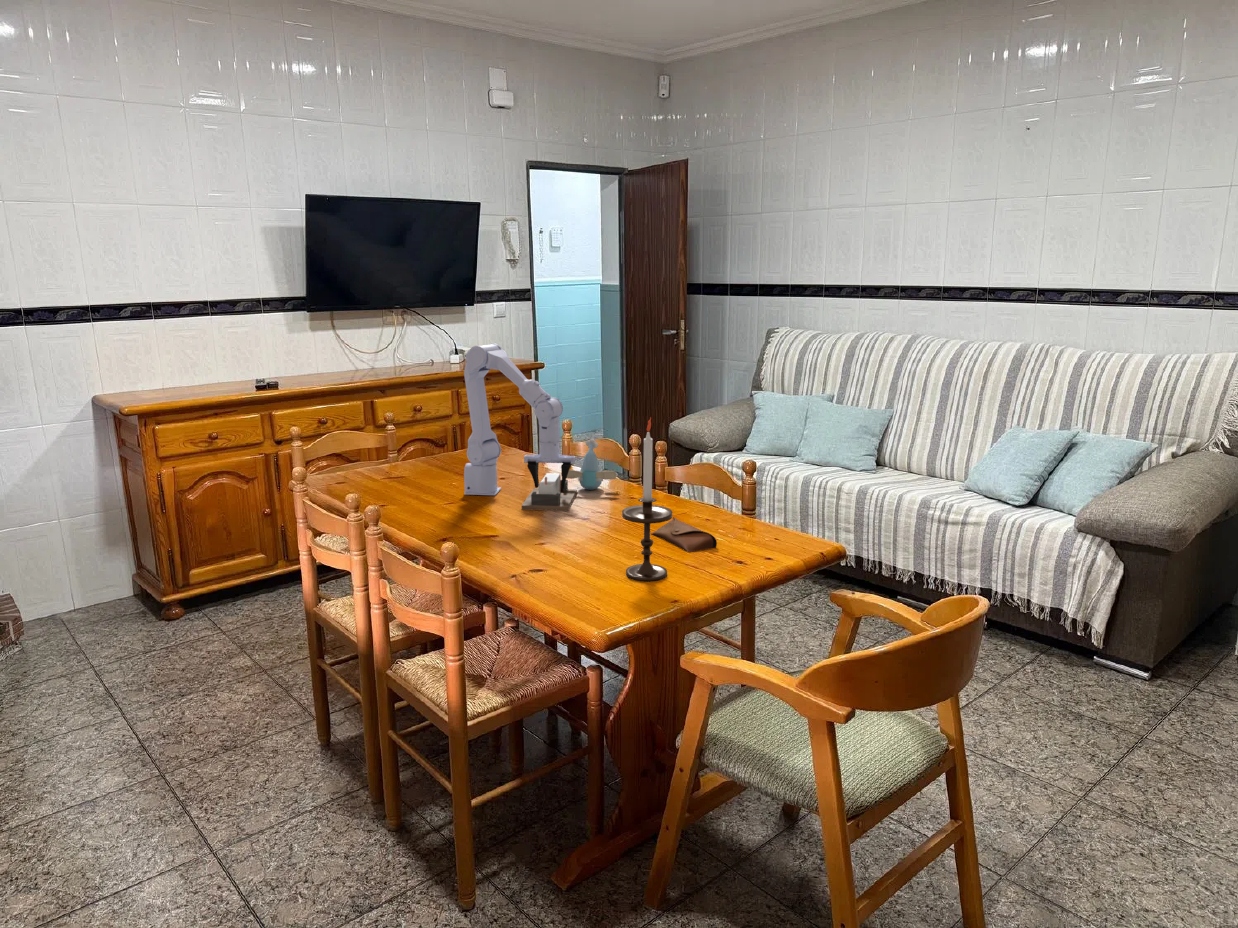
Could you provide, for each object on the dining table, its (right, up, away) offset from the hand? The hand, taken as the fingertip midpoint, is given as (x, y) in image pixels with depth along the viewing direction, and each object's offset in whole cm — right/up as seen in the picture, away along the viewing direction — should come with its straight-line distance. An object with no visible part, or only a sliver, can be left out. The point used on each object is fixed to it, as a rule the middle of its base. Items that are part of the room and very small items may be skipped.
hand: (550, 487), depth 247 cm
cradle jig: (0, -4, +1) cm, 4 cm away
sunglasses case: (+36, -13, -34) cm, 51 cm away
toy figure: (+11, -1, +15) cm, 19 cm away
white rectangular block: (0, -3, 0) cm, 3 cm away
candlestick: (+26, -18, -58) cm, 66 cm away
